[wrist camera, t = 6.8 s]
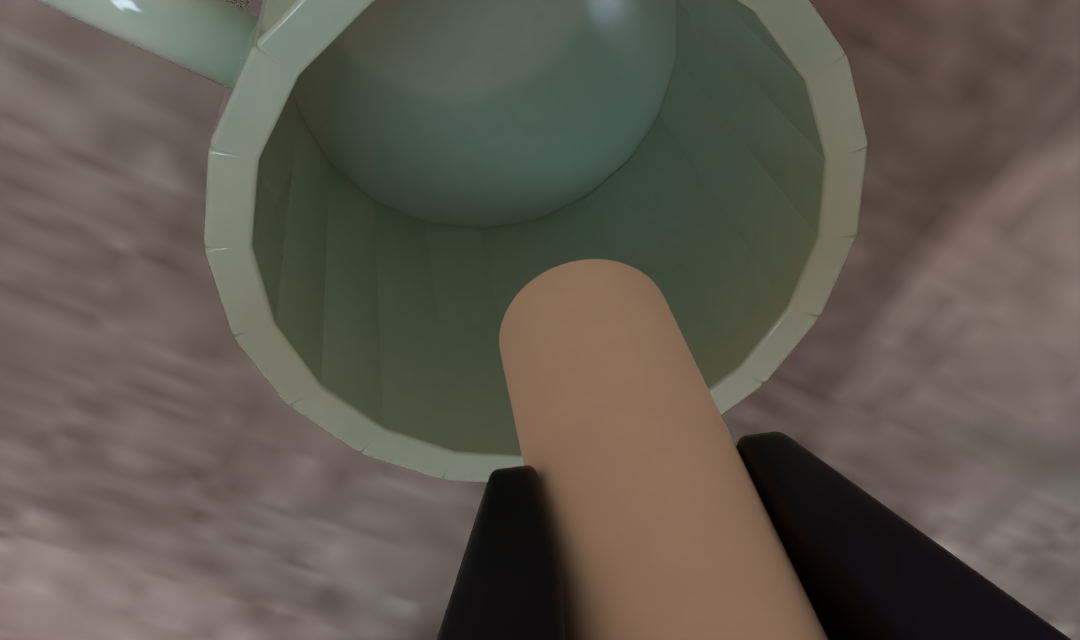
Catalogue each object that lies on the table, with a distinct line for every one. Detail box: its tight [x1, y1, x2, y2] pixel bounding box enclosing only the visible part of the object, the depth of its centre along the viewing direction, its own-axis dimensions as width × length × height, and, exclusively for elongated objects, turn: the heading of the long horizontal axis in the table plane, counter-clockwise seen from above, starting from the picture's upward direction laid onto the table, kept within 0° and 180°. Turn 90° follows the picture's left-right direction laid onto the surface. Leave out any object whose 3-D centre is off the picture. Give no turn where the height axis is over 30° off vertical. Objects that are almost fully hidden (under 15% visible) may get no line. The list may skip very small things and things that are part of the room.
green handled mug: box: [35, 0, 868, 482], centre depth 16 cm, size 12×9×8 cm
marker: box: [499, 259, 829, 640], centre depth 8 cm, size 2×2×8 cm
